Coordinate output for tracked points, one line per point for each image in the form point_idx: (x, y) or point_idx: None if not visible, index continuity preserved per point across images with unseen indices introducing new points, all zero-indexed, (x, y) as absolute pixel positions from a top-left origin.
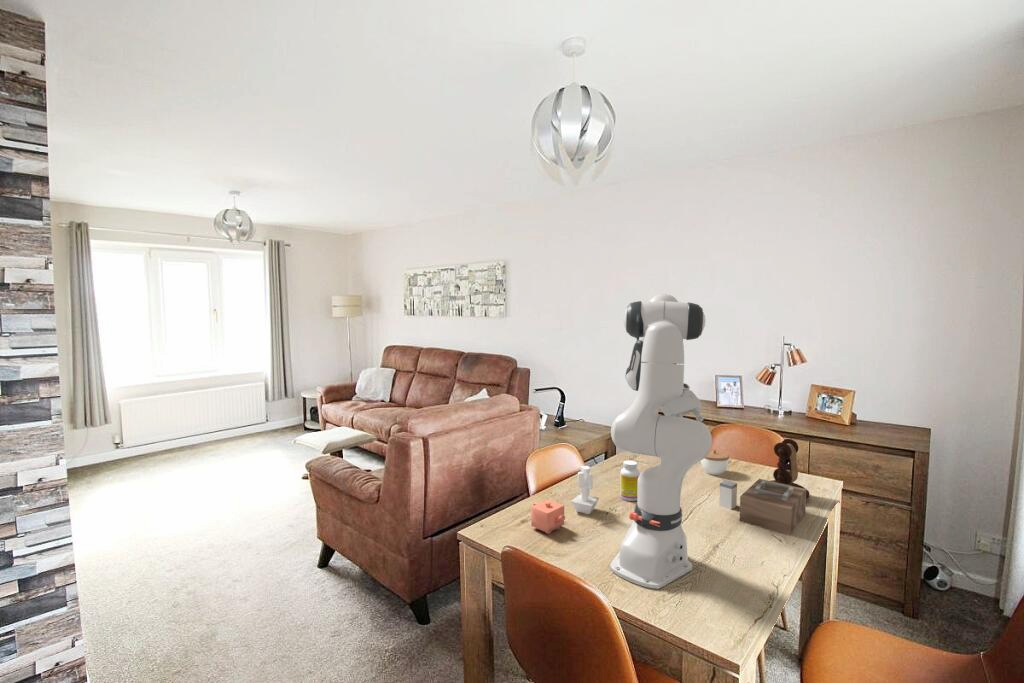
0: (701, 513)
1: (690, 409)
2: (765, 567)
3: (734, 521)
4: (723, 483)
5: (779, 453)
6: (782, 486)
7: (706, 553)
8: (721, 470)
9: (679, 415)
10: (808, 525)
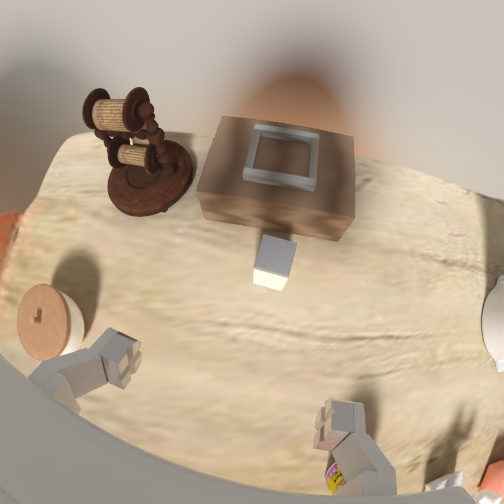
0: (347, 317)
1: (164, 459)
2: (447, 199)
3: (345, 250)
4: (288, 266)
5: (150, 115)
6: (259, 139)
7: (467, 270)
8: (78, 307)
9: (394, 485)
10: None
